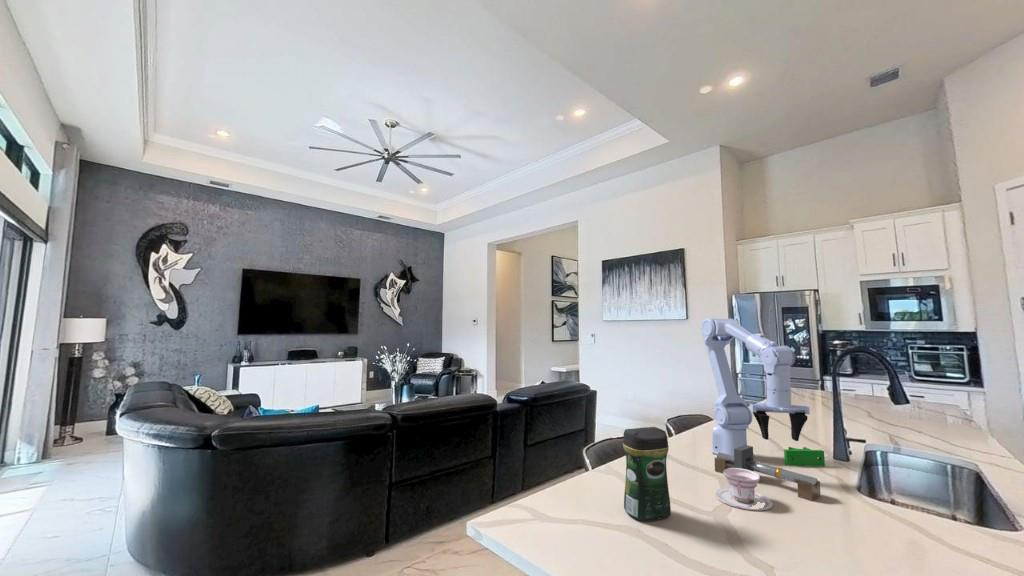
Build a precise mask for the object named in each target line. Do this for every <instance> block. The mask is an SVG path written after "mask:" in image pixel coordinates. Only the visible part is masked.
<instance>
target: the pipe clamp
mask: <svg viewBox="0 0 1024 576" xmlns="http://www.w3.org/2000/svg"><path fill="white" fill-rule="evenodd" d="M783 461H784V462H783V463H784V465H785V466H787V465H794V466H795V465H796V466H797V467H799V466H800V467H802V466H803V467H826V462H825V450H822V449H810V448H808V447H806V446H803V447H802V448H795V447H791V446H788V449H783ZM796 466H795V467H796Z"/></svg>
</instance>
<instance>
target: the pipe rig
mask: <svg viewBox="0 0 1024 576" xmlns="http://www.w3.org/2000/svg"><path fill="white" fill-rule="evenodd" d="M744 461H745V468H746V469H749V470H753V471H754V472H755V473H756V472H758V473H760V474H763V475H767V476H771V477H774V478H776V479H779V480H784V481H788V482H791V483H795V484H797V497H798V498H800V499H804V500H808V501H810V502H813V501H815V500H816V499H818V498H820V497H822V495H821V481H820V480H818V478H816V477H813V476H811V475H810V476H809V475H806V474H802V473H798V472H794V471H791V470H787V469H784V468H783V467H778V466H777V467H776V466H773V465H768V464H765V463H762V462H759V461H755V460H753V461H751V460H747V459H744ZM728 468H734V456H732V455H729V454H725V453H721V452H719V453H718V454H716V457H714V471H715V472H717V473H720V474H723V475H724V473H723V472H724V470H725V469H728Z"/></svg>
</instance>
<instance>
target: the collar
mask: <svg viewBox="0 0 1024 576" xmlns="http://www.w3.org/2000/svg"><path fill="white" fill-rule="evenodd" d="M744 459H747V460H751V461H754V447H753V446H752V445H748V444H747V445H744V446H741V447H738V448H735V449H734V468H742V469H746V468H745V461H744ZM747 470H749V469H747ZM750 471H753V470H750ZM753 472H755V471H753Z"/></svg>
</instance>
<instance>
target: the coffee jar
mask: <svg viewBox="0 0 1024 576" xmlns="http://www.w3.org/2000/svg"><path fill="white" fill-rule="evenodd" d="M622 447H623V450H624V453H625V459H626V460H625V463H626V464H625V465H626V466H625V469H626V470H625V484H624V495H623V497H624V498H623V508H624V511H625V512H626V514H628V516H630V517H631V518H633V519H636V520H639V521H642V522H647V521H657V520H661V519H665V518H668V517H670V516H671V513H672V509H671V498H670V492H669V483H668V474H667V473H668V471H667V458H668V457H667V456H668V453H669V442H668V435H667V433H666V431H665V430H664V429H661V428H660V427H656V426H647V427H646V426H645V427H636V428H626V429H624V431H623V440H622Z"/></svg>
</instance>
